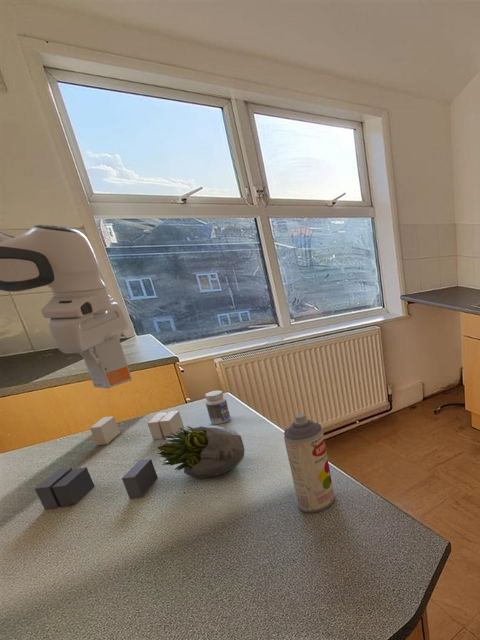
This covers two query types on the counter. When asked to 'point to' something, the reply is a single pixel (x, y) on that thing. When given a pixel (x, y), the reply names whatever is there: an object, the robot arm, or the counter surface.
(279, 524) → the counter surface
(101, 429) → the white blocks
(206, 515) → the counter surface
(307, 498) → the aerosol can
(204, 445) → the potted plant
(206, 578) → the counter surface
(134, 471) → the dark grey blocks
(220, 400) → the pill bottle
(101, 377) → the cosmetic box
